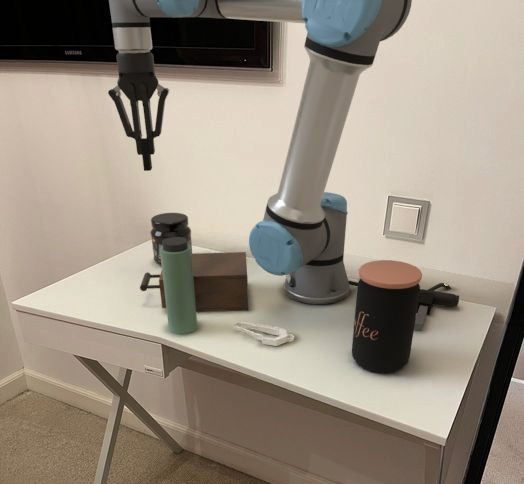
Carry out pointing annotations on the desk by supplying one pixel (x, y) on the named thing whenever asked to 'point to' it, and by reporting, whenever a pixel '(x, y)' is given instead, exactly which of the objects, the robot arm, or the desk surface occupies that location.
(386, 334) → the coffee jar
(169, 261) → the bottle
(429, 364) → the desk surface
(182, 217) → the supplement container
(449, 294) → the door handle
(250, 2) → the robot arm
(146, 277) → the drawer
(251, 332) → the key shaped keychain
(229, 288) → the cabinet
